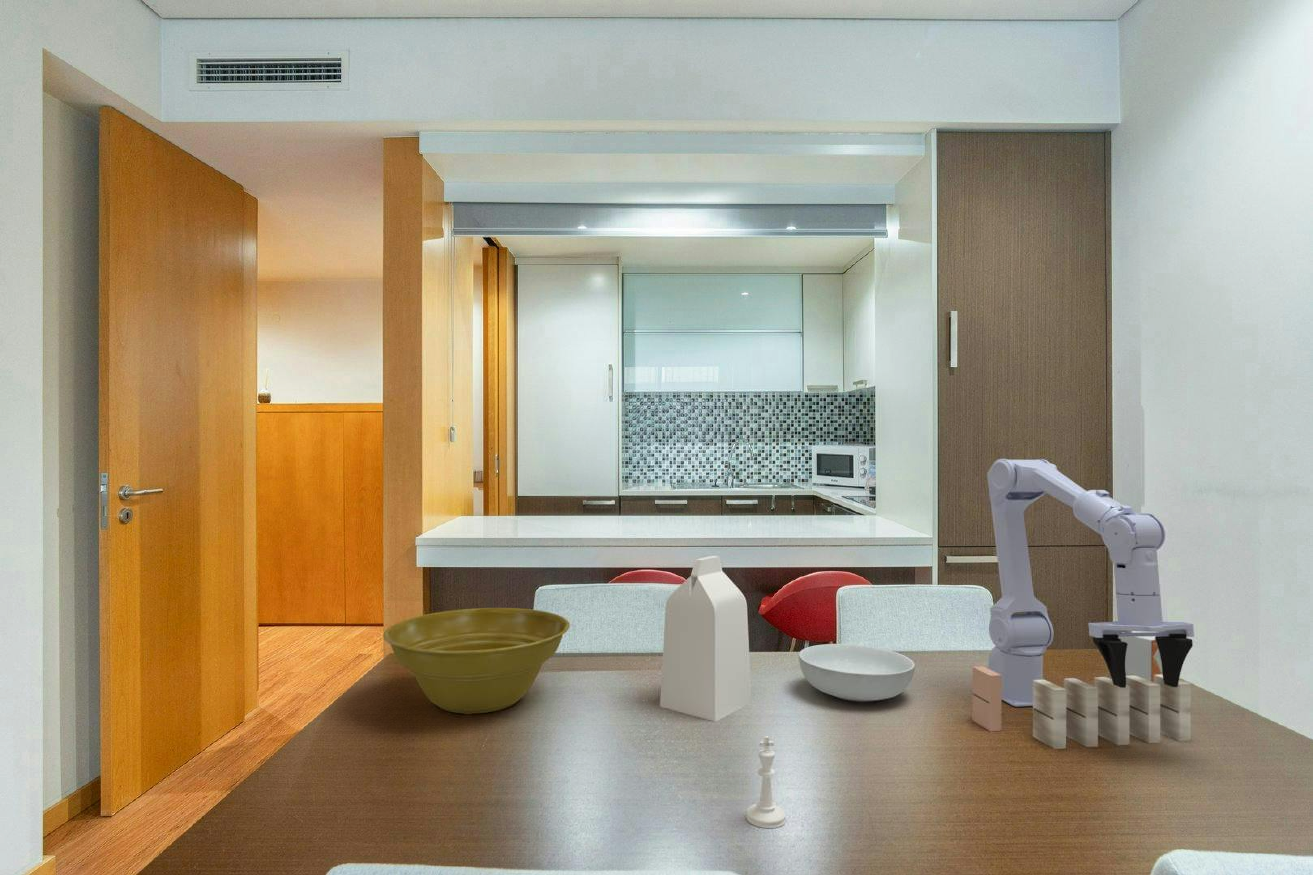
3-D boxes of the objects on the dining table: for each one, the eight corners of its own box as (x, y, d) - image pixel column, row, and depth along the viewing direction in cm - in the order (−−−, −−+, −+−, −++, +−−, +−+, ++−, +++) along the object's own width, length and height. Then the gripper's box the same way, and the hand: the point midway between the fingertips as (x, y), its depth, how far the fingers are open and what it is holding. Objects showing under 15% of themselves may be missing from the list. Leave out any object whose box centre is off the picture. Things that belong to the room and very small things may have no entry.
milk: (715, 721, 125) (716, 565, 125) (659, 706, 132) (661, 558, 132) (751, 702, 134) (752, 557, 135) (698, 689, 141) (699, 551, 142)
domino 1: (1032, 736, 120) (1033, 679, 120) (1044, 735, 120) (1044, 679, 120) (1054, 748, 115) (1054, 690, 115) (1066, 748, 115) (1066, 689, 115)
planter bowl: (341, 724, 122) (342, 641, 122) (443, 668, 153) (443, 602, 153) (525, 745, 114) (526, 656, 114) (593, 681, 145) (593, 612, 146)
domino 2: (1063, 734, 121) (1063, 678, 121) (1074, 734, 121) (1075, 678, 121) (1086, 747, 116) (1086, 688, 116) (1097, 746, 116) (1098, 687, 116)
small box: (1151, 715, 130) (1151, 640, 130) (1112, 704, 135) (1113, 632, 136) (1172, 706, 135) (1173, 634, 135) (1134, 696, 140) (1134, 626, 140)
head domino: (972, 720, 127) (972, 666, 127) (983, 719, 127) (983, 666, 127) (989, 731, 122) (990, 675, 122) (1001, 730, 122) (1001, 675, 122)
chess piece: (742, 809, 95) (743, 729, 95) (780, 808, 95) (781, 728, 95) (750, 828, 90) (751, 745, 90) (790, 827, 90) (791, 744, 90)
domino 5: (1153, 729, 123) (1153, 674, 124) (1164, 728, 124) (1164, 674, 124) (1179, 741, 118) (1179, 684, 119) (1190, 740, 119) (1190, 683, 119)
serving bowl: (931, 715, 129) (931, 674, 129) (809, 712, 130) (809, 672, 130) (895, 678, 150) (895, 643, 150) (790, 676, 150) (790, 641, 151)
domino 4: (1124, 731, 123) (1124, 676, 123) (1135, 730, 123) (1135, 675, 123) (1148, 743, 118) (1148, 685, 118) (1160, 742, 118) (1160, 685, 118)
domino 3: (1094, 732, 122) (1094, 677, 122) (1105, 732, 122) (1105, 676, 122) (1117, 745, 117) (1118, 687, 117) (1129, 744, 117) (1129, 686, 117)
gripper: (1104, 596, 110) (1111, 692, 109) (1204, 595, 110) (1213, 691, 108) (1078, 592, 117) (1085, 681, 116) (1172, 591, 117) (1180, 681, 115)
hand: (1145, 685), depth 112 cm, fingers open, 7 cm apart
